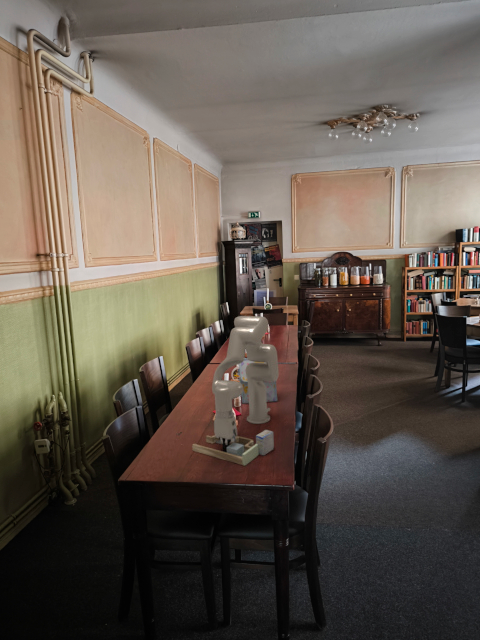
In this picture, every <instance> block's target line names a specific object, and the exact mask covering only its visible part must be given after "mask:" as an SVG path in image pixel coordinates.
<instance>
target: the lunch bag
mask: <svg viewBox="0 0 480 640" xmlns="http://www.w3.org/2000/svg"><path fill="white" fill-rule="evenodd" d="M250 363H254V362H253V361H249V360H248V358H247V357H244V361H243V362H242V363H240V364H237V365H238V368H239V380H238V382H240V383H241V384H242V385H243V392H242V394H241V395H240V397H241V402H242V403H241V404H249V392H248V381H247V376H246V367H247V365H248V364H250ZM256 363H265V362H256ZM263 383H264V384H265V387H266V400H267V402H268V403H269V402H270V403H271V402H278V393H277V392H278V391H277V390H278V389H277V380H276V381H274V382H267V381H263Z"/></svg>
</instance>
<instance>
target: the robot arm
mask: <svg viewBox="0 0 480 640" xmlns="http://www.w3.org/2000/svg"><path fill="white" fill-rule="evenodd" d="M233 323H234V328H232V329H231V331H230V334H229V340H228V346H227V351H226V357H225V358H224V360H223V361H221V362H220V363H219V365H218V366H217V367H216V369H215V371H214V373H213V378H212V384H211V389H212V390H211V391H212V394H213V395H214V403H215V404H214V407H215V415H214V421H213V422H214V423H213V430H214V435H215V436H216V437H217V438H219V440H220V441H221V444H222V452H226V453H227V447H228V446H229V445H230V442H234V441H236V438H235V436H238V427H237V422H236V416H235V412H233V400H234V399H238V398H239V397H241V394H242V392H243V385H242V384H241V383H240V382H239V381H237V380H229V379H228V380H227V379H226V380H225V379H223V377H224V374H225V372H226V371H228V369H231V368H232V367H234V366H237V365H238V364H240V363H242V362H243V361H244V358H248V360H249V361H253V362H254V363H250V364H248V365H247V367H246V376H247V381H248V392H249V403H248V409H249V410H248V411H249V415H247V417H246V421H247V422H248V423H250V424H254V425H255V424H257V425H260V424H261V425H262V424H266V423H268V422H269V421H270V420H271V416H270V415H269V414H268V412H270V411H271V408H270V407H268V406H267V405H268V404H267V400H266V387H265V384H264V383H263V381H267V382H274V381H276V382H277V381H278V379H279V375H280V374H279V362H278V361H279V359H278V351H277V348H276V347H275V345H273V344H269V343H268V344H267V343H262V339H263V338H264V336H265V335H266V333H267V331H268V328H269V320H268V319H267V318H266V317H265V316H252V315H238V316H237V317H235V318H234V321H233ZM245 356H246V357H245ZM256 362H265V363H256ZM221 444H220V445H221Z"/></svg>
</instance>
